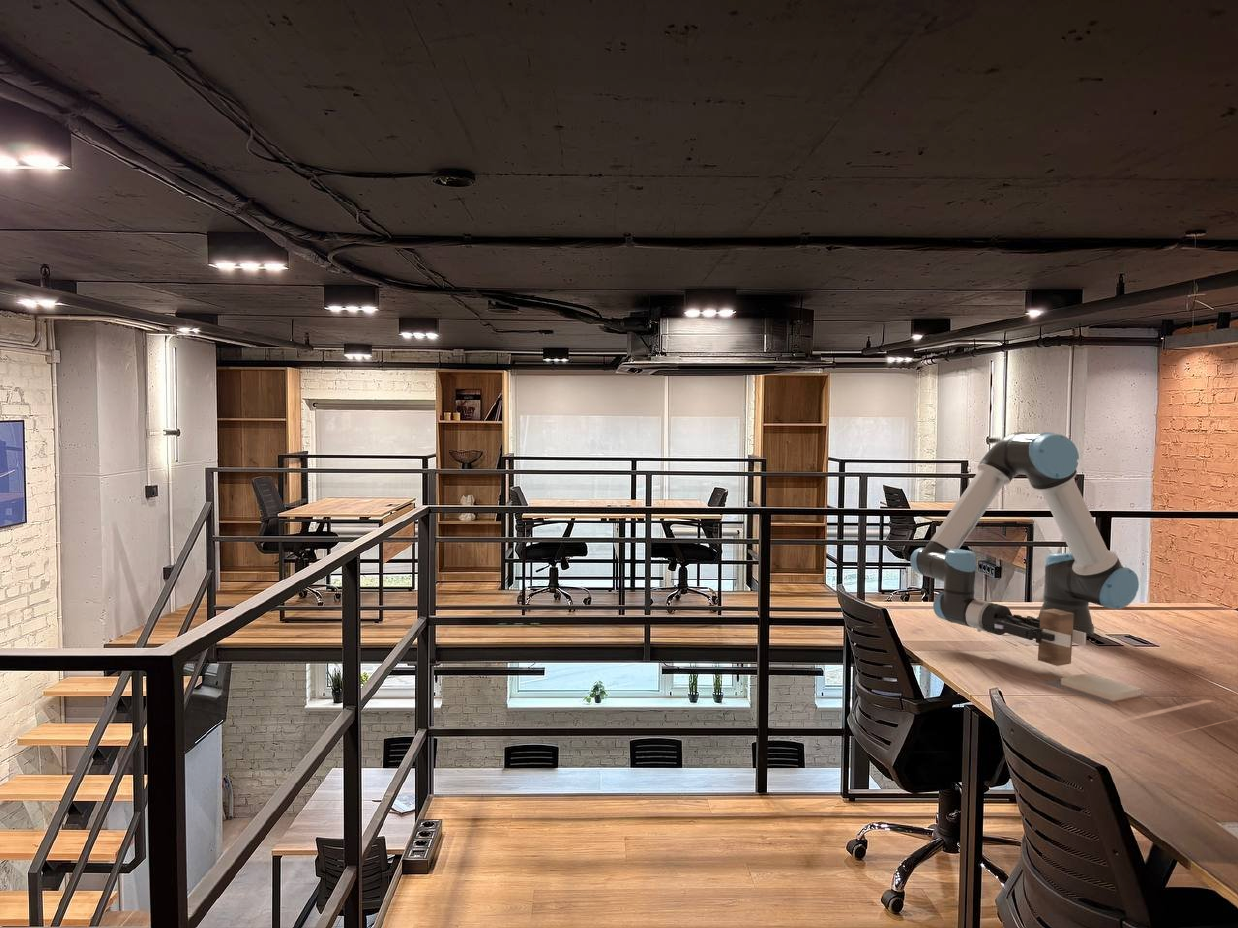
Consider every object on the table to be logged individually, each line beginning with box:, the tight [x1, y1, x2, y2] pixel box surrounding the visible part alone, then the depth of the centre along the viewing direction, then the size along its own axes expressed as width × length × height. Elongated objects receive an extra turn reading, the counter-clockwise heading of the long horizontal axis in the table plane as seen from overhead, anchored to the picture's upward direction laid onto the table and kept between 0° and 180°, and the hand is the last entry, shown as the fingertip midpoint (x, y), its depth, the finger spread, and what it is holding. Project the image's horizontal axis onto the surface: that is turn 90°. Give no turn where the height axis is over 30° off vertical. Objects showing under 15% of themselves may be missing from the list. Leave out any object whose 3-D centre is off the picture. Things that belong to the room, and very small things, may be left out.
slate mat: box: [1044, 679, 1148, 705], centre depth 185 cm, size 15×14×1 cm
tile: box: [1060, 672, 1142, 703], centre depth 184 cm, size 2×10×12 cm
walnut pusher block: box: [1037, 609, 1074, 667], centre depth 194 cm, size 5×5×12 cm
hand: (1077, 640), depth 189 cm, fingers closed on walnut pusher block, 5 cm apart
